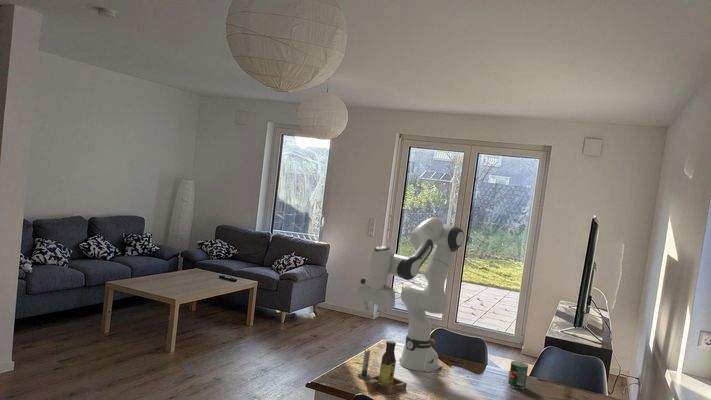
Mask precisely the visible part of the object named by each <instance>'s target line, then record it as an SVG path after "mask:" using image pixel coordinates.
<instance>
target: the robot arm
mask: <svg viewBox="0 0 711 400" xmlns="http://www.w3.org/2000/svg"><path fill="white" fill-rule="evenodd" d="M409 237H410V243H411V245H412V247H414V249H416V251H415V252H414V253H413V255H409V256H406V255H404V254H403V255H402V254H398V253H395V252H393V251H392V250H391V248H390V247H389V246H386V245H377V246H375V247H374V248H373V249H372V251H371V255H370V260H369V273H368V276H366V277H362V278H359V279H358V280H359V281H358V282H359V284H358V286H357V293H356V296H357V298H358V300H361V301H362V304H363V307H364V308H363V310H364V311H365V312H369V311H370V306H369V303H370V304H373V305H376V306H378V307H381V310H382V311H380V312H379V317H380V318H384V317H385V315H386V312H387V311H388V310H391V309H394V308H395V306H396V290H395V288H394V287H391V286H389V285H388V283H389V275H391V276H394V277H399V278H401V279H403V280H406V281H411V280H413V279H414V278H415V277H416V276H417V274H418V272H419V271H420V269H421V267H422V265H423V264H424V263H425V261H427V259H428V257H429V256H430V255H431V256H430V258H429V261H428V263H427V265H426V267H425V269H424V271H423V275H424V278H425V279H426V281H427V282H428V283H427V286H426V287H424V286H422V285H417V284H406V285H405V286H403V288H402V289H401V291H400V298H401V301H402V303H403V304H404V306H405V308H406V311H407V316H408V329H407V335H406V336H405V344H404V345H403V350H402V353H401V357H399V364H400V365H401V367H404V368H406V369H409V370H413V371H418V372H424V371H425V373H431V372H434V371H435V370H438V369H441V368H442V367H443V364H442V363H441V362H439V354H438V353H437V351H436V350H435V349H434V348H433V347H432V344H433V345H434V344H435V343H436V340H435V339H433V338H431V334H432V327H433V326H432V325H433V324H432V322H431V320H430V319H429V318H428V317H427V314H426V313H430V314H438V315H441V314H443V313H445V312H446V311H447V309H448V307H449V299H448V296H447V294H446V290H445V283H446V280H447V278H448V275H449V272H450V271H451V267H452V265H453V263H454V259H455V255H456V251H457V250H459V248H461V246H462V245H463V244H464V241H465V232H464V230H463V229H461V228H460V227H458V226H453V225H450V224H445V223H444V224H443V221H442V220H441V219H440V218H438V217H436V216H431V217H428V218H426V219H425V220H423V221H421V222H420V223H419V224H418V225H416V226H415V227H414V228H413V230H412V231H411V233H410V236H409ZM434 245H435V246H436V248H435V250H434V251H433V249H434ZM432 251H433V253H432ZM431 253H432V254H431ZM440 367H441V368H440ZM433 370H434V371H433ZM430 371H431V372H430Z"/></svg>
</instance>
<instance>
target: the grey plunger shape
mask: <svg viewBox="0 0 711 400" xmlns="http://www.w3.org/2000/svg"><path fill="white" fill-rule="evenodd" d="M370 355H371V350H370V349H365V350H364V354H363V362H362V367H361V368H362V369H361V372H360V373H357V374H356V376H357V378H358V377H359V379H360V378H361V380H366V377H371V376H372V375H370V374H368V370H369V364H370V363H369V362H370V357H371V356H370Z"/></svg>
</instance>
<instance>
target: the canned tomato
mask: <svg viewBox="0 0 711 400" xmlns="http://www.w3.org/2000/svg"><path fill="white" fill-rule="evenodd" d="M509 369H510V370H509V375H508V381H507V384H508V383H509V384H510V385H511V386H514V387H518V388H523V387H525V388H526V383H527V376H528V370H529V364H527V363H526V362H524V361H523V362H522V361H518V360H513V361H512V360H511V362H510V368H509Z"/></svg>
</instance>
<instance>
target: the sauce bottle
mask: <svg viewBox="0 0 711 400" xmlns="http://www.w3.org/2000/svg"><path fill="white" fill-rule="evenodd" d="M385 344H386V345H385V352H384V353H383V354H382V355H381V362H380V366H379V367H380V369H379V373H378V375H379V383H381V384H383V385H385V386H391V385H393V378H395V372H396V371H395V370H396V363H397V359H396V355H395V354H396V353H395V351H396V350H395V349H396V348H395V347H396V345H397V343H396V341H393V340H386V343H385Z"/></svg>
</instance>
